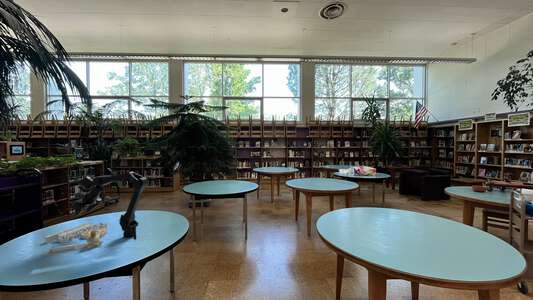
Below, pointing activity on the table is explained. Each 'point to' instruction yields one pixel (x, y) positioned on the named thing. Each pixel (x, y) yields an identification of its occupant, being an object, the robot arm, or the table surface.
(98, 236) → the cabinet block
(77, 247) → the wall board
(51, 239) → the sign
